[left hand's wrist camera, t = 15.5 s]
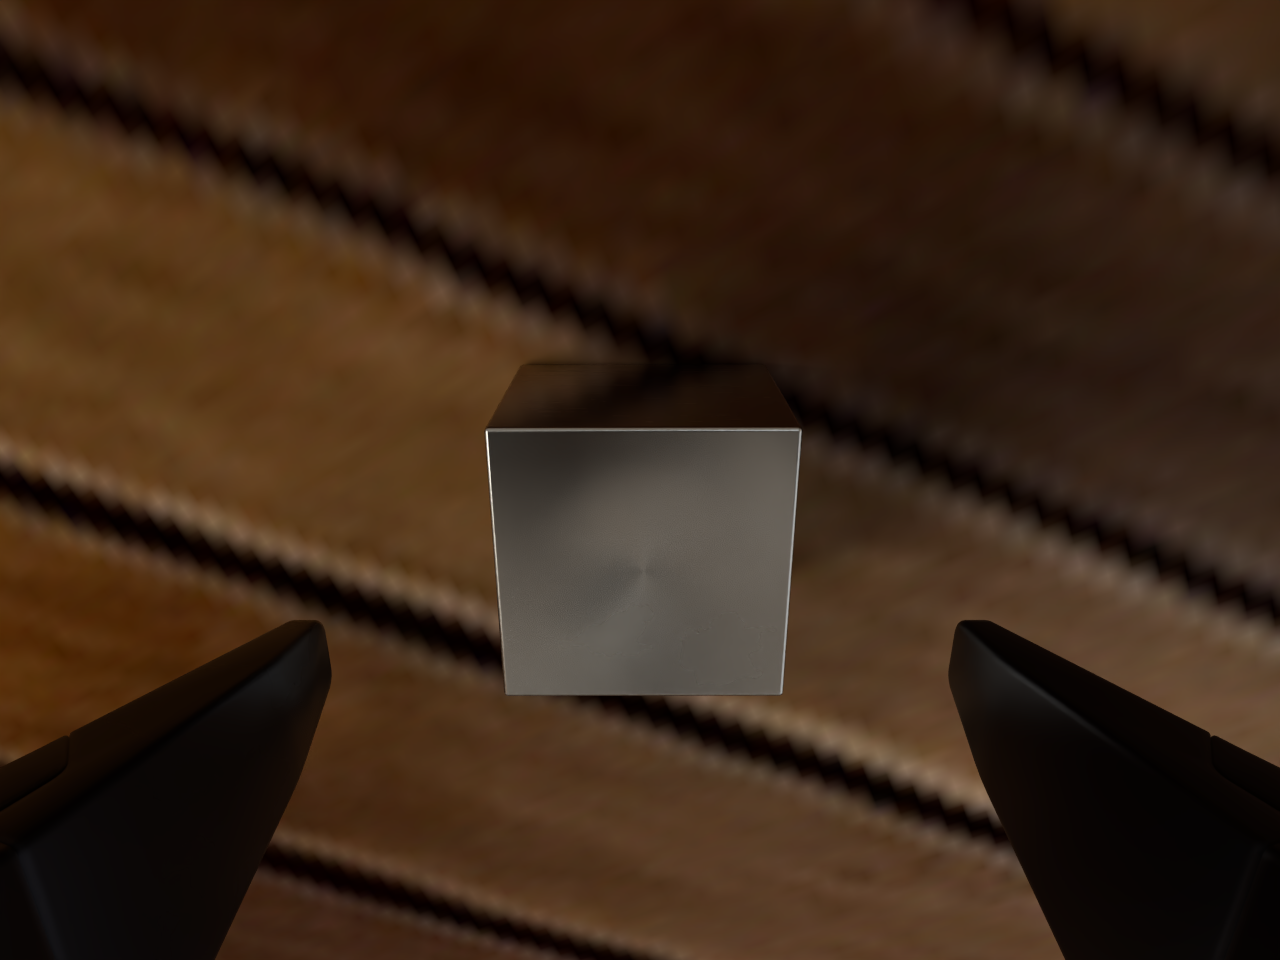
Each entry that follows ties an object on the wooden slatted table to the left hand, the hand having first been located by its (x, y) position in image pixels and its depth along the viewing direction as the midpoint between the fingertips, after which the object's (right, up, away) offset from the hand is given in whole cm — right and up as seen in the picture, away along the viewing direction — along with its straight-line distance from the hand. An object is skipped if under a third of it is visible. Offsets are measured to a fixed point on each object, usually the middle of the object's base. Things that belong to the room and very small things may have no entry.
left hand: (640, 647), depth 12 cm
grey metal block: (0, +2, +6) cm, 7 cm away
